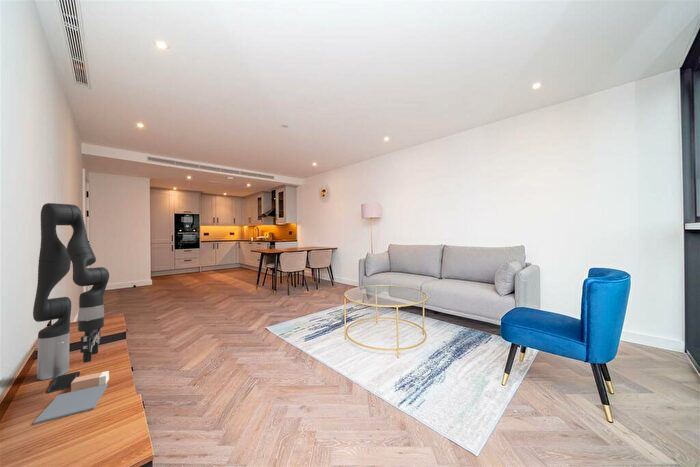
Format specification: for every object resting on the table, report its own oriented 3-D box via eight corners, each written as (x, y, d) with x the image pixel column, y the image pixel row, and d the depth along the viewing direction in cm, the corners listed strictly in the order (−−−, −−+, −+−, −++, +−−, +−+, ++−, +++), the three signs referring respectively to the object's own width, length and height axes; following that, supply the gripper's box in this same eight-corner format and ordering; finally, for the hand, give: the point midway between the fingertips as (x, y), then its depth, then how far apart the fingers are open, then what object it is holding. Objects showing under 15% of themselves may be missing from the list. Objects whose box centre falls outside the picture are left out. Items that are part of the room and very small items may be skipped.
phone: (80, 371, 116) (76, 384, 105) (80, 373, 116) (76, 386, 105) (53, 377, 111) (47, 391, 100) (53, 380, 111) (47, 394, 100)
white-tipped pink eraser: (70, 392, 101) (71, 383, 101) (75, 386, 105) (75, 377, 105) (105, 384, 106) (105, 375, 106) (108, 379, 110) (109, 370, 110)
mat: (58, 396, 98) (58, 394, 98) (107, 385, 105) (107, 383, 105) (33, 424, 83) (33, 422, 83) (93, 409, 90) (93, 407, 90)
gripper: (84, 314, 110) (84, 354, 110) (71, 323, 98) (70, 367, 98) (108, 312, 114) (108, 349, 114) (98, 319, 102) (98, 362, 101)
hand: (90, 357), depth 106 cm, fingers open, 8 cm apart
